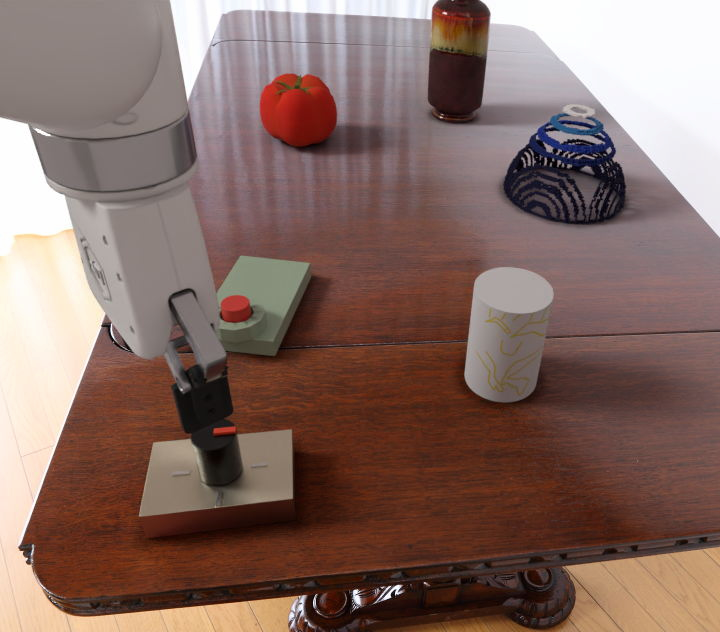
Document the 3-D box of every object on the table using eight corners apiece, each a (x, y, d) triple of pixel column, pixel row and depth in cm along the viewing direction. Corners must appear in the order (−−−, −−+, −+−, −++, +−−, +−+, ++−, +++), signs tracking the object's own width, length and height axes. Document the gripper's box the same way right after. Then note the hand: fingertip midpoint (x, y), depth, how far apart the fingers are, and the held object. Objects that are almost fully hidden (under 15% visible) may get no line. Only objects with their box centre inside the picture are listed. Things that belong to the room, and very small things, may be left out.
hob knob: (196, 488, 57) (187, 449, 54) (200, 455, 60) (192, 417, 57) (241, 483, 58) (234, 444, 55) (243, 451, 61) (237, 413, 58)
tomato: (271, 122, 127) (265, 65, 120) (342, 127, 128) (341, 71, 122) (254, 152, 116) (247, 91, 110) (332, 157, 117) (330, 97, 111)
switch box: (272, 362, 75) (269, 333, 72) (191, 353, 75) (184, 324, 72) (311, 277, 88) (309, 250, 86) (242, 269, 88) (238, 243, 86)
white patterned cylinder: (472, 405, 72) (483, 315, 65) (458, 355, 78) (466, 268, 71) (545, 399, 74) (563, 311, 67) (525, 351, 80) (541, 265, 73)
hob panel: (146, 539, 56) (138, 515, 54) (159, 464, 62) (152, 441, 60) (295, 520, 59) (292, 497, 57) (294, 450, 65) (292, 427, 63)
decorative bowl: (537, 157, 125) (549, 78, 116) (639, 190, 118) (660, 109, 109) (482, 196, 111) (491, 109, 102) (594, 236, 103) (615, 147, 95)
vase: (418, 107, 140) (424, -33, 124) (467, 103, 144) (479, -33, 128) (438, 127, 132) (448, -19, 116) (489, 123, 136) (505, -19, 121)
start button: (246, 325, 74) (244, 312, 73) (218, 322, 74) (216, 309, 73) (254, 308, 76) (253, 296, 75) (228, 306, 76) (226, 293, 75)
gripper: (-6, 102, 39) (76, 334, 49) (101, 236, 29) (174, 489, 39) (130, 81, 43) (179, 299, 53) (263, 192, 33) (290, 431, 44)
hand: (177, 379), depth 46 cm, fingers open, 9 cm apart
